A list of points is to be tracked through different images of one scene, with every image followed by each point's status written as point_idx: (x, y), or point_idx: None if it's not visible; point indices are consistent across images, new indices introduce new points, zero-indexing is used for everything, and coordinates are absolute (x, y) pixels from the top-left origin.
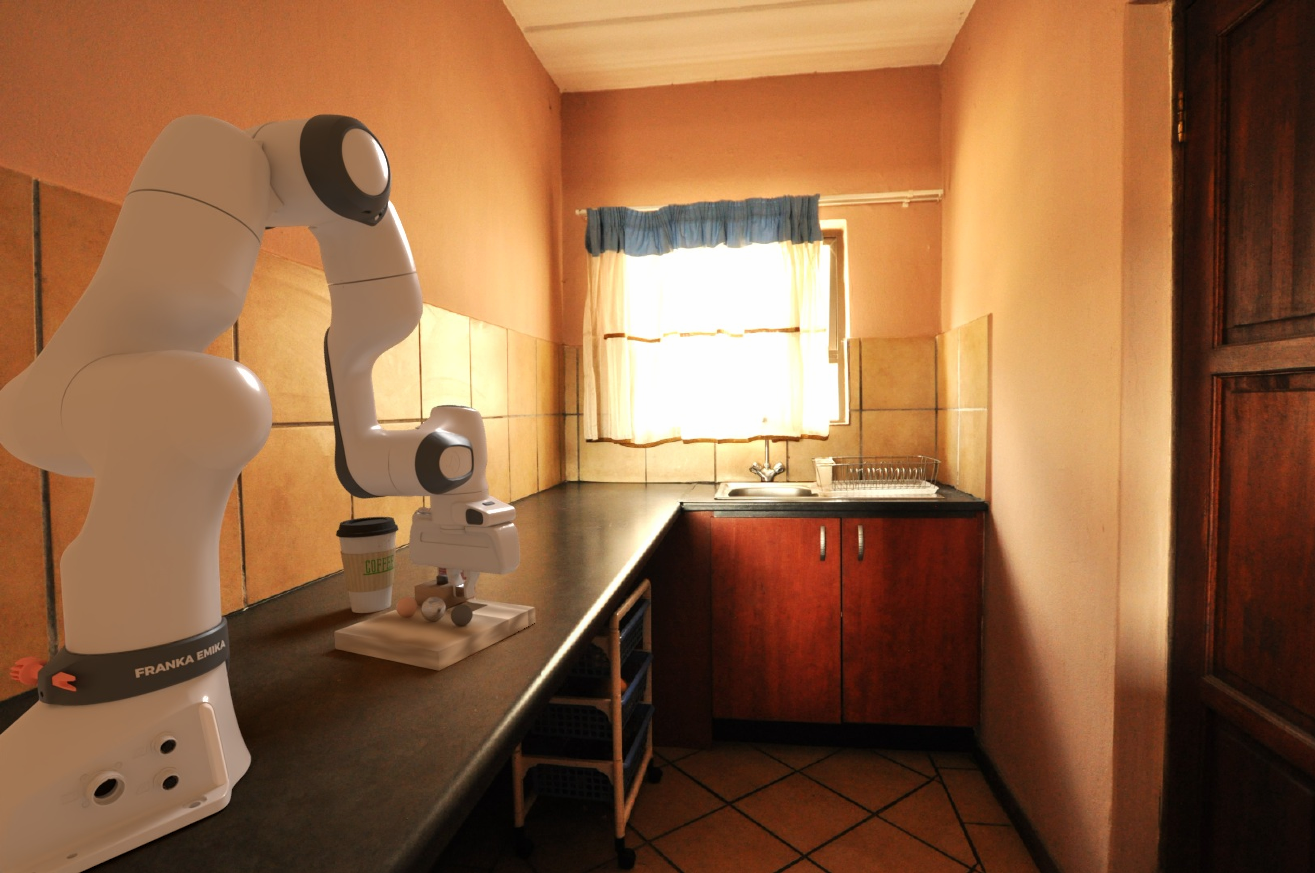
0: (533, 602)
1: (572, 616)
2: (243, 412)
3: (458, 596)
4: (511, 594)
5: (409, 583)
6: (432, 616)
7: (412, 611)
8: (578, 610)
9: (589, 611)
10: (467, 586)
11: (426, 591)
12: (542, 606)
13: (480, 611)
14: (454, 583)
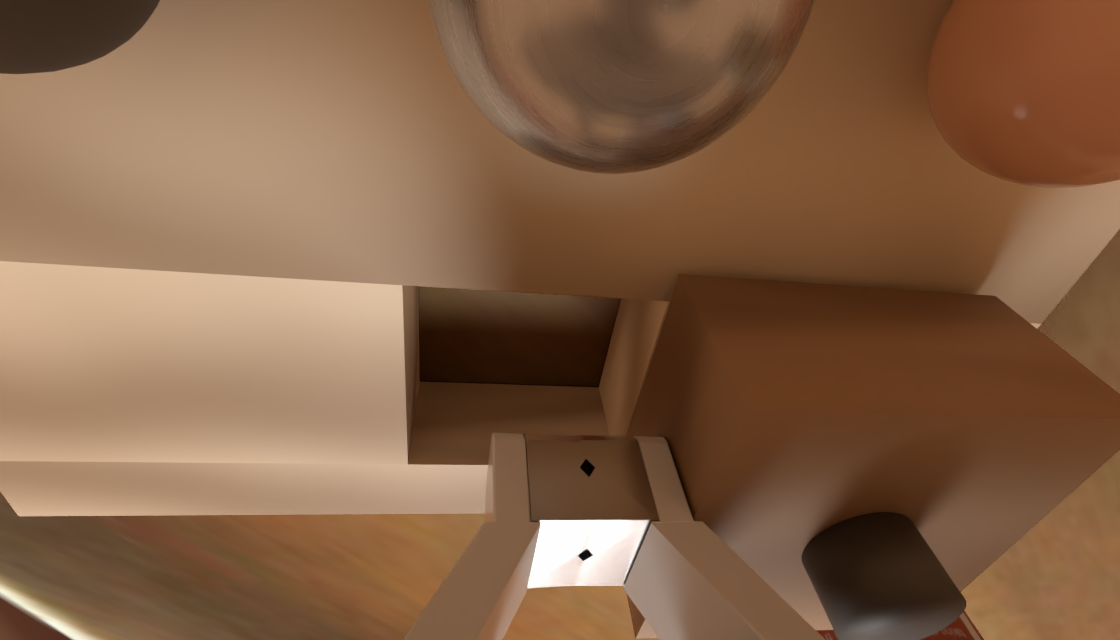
0: (406, 596)
1: (12, 540)
2: None
3: (605, 436)
4: (583, 622)
5: (1101, 588)
6: None
7: (957, 5)
8: (85, 592)
9: (15, 598)
10: (475, 537)
11: (961, 384)
12: (316, 579)
13: (334, 345)
14: (677, 548)
